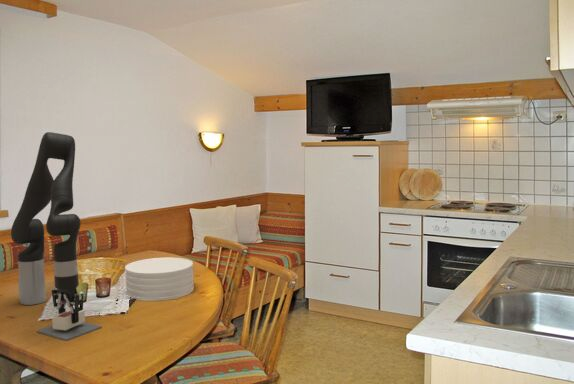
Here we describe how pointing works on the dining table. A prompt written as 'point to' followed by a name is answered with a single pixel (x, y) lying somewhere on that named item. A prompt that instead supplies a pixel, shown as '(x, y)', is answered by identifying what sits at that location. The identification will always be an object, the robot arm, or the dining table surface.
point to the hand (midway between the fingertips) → (68, 321)
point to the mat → (69, 331)
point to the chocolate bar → (123, 312)
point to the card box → (66, 320)
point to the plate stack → (159, 278)
